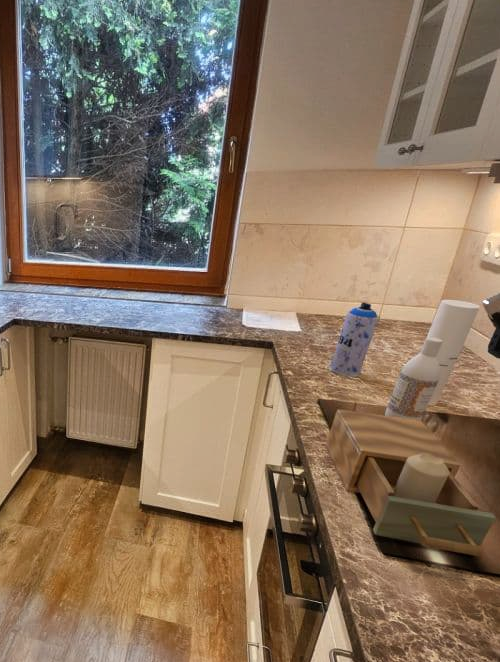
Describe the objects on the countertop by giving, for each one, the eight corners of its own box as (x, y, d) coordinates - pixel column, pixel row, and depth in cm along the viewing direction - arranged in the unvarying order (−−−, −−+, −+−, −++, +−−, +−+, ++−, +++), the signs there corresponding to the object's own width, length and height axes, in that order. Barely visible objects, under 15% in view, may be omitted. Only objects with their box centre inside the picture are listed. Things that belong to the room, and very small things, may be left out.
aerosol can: (322, 367, 138) (343, 300, 129) (344, 365, 140) (366, 299, 131) (343, 377, 131) (367, 308, 123) (366, 375, 133) (391, 306, 124)
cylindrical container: (444, 404, 118) (488, 307, 107) (419, 406, 117) (461, 308, 106) (420, 392, 124) (459, 299, 113) (396, 393, 123) (433, 300, 112)
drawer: (497, 582, 66) (520, 546, 63) (388, 561, 69) (405, 525, 66) (432, 494, 84) (448, 462, 81) (348, 480, 87) (360, 449, 84)
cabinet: (439, 506, 82) (460, 465, 78) (346, 490, 86) (361, 450, 82) (404, 457, 96) (420, 420, 92) (325, 445, 99) (337, 409, 95)
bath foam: (401, 428, 107) (436, 345, 98) (376, 413, 113) (407, 334, 104) (426, 426, 108) (463, 344, 99) (400, 411, 114) (432, 333, 105)
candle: (384, 494, 81) (405, 445, 77) (421, 501, 80) (444, 451, 76) (395, 515, 77) (418, 464, 72) (434, 522, 75) (460, 471, 71)
